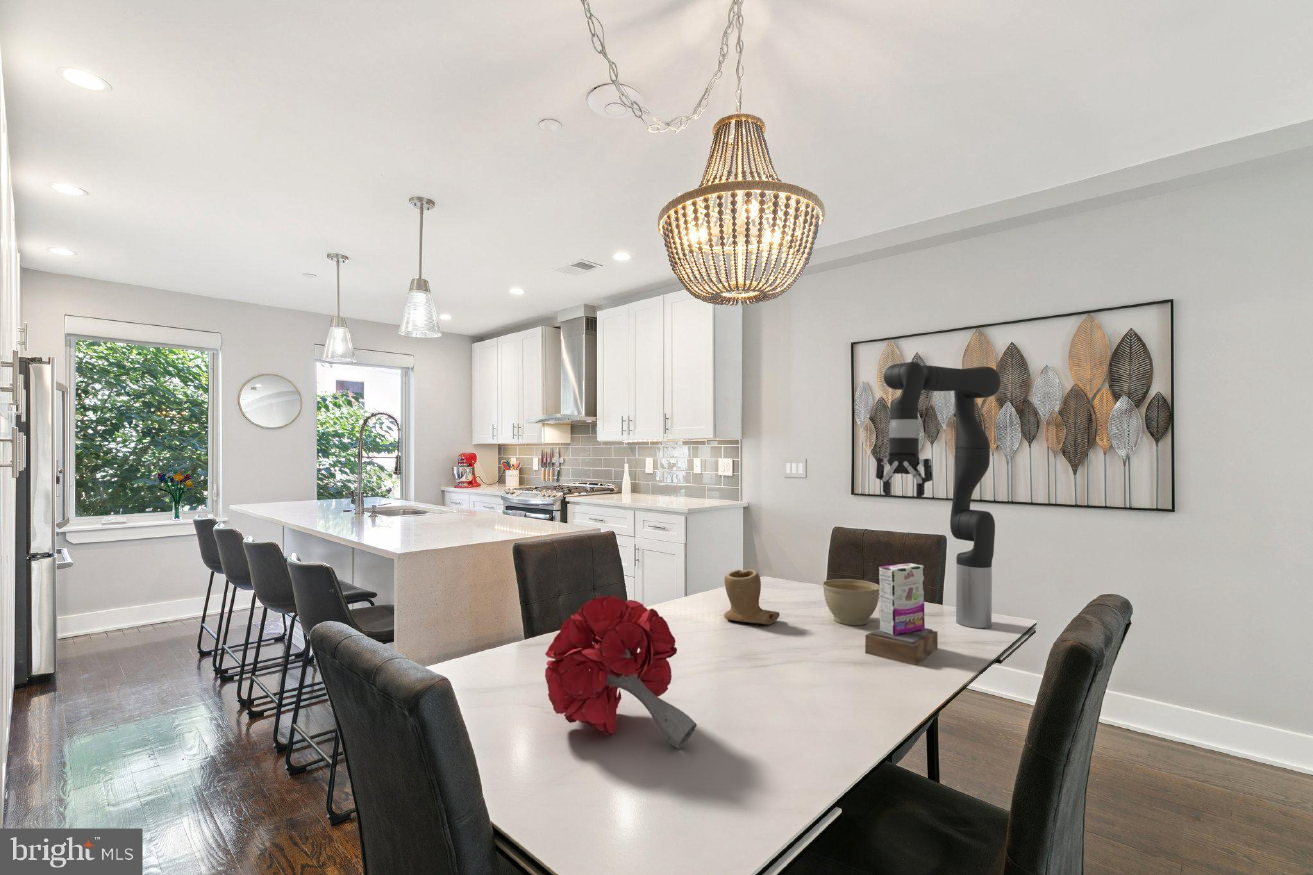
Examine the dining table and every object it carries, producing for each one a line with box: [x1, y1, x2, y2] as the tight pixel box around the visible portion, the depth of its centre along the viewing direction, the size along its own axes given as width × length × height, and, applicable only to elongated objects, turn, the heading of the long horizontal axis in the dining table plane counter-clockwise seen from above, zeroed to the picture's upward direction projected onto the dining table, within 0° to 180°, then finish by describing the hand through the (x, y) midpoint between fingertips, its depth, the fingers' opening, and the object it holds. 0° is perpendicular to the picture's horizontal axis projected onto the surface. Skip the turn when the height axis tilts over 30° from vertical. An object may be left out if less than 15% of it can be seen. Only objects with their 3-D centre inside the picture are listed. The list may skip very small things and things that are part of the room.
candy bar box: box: [878, 562, 926, 636], centre depth 154 cm, size 11×5×16 cm, turn 117°
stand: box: [864, 627, 939, 666], centre depth 154 cm, size 16×12×5 cm
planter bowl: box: [822, 578, 880, 626], centre depth 180 cm, size 16×16×11 cm
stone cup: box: [723, 568, 781, 626], centre depth 178 cm, size 15×12×15 cm
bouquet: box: [544, 595, 698, 750], centre depth 110 cm, size 22×24×30 cm
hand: (903, 496), depth 165 cm, fingers open, 8 cm apart
